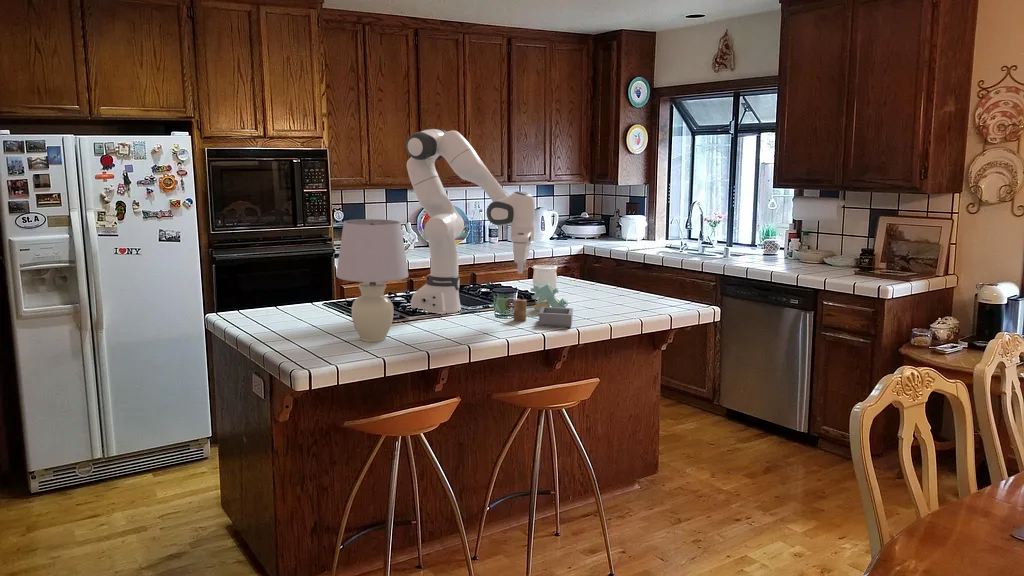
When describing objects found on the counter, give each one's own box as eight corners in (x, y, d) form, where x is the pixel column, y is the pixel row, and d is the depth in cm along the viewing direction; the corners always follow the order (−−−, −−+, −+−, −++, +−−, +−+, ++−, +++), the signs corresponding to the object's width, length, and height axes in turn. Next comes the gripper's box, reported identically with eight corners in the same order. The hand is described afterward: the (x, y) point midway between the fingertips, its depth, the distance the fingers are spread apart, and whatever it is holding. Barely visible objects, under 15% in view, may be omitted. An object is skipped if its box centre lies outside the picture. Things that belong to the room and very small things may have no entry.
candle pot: (538, 326, 292) (539, 313, 291) (541, 319, 303) (541, 306, 302) (570, 328, 290) (571, 314, 289) (572, 320, 302) (572, 308, 301)
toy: (571, 311, 315) (555, 279, 311) (541, 323, 318) (524, 292, 314) (571, 301, 324) (556, 270, 320) (542, 313, 328) (527, 283, 323)
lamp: (326, 335, 269) (324, 219, 262) (389, 327, 283) (388, 217, 275) (354, 351, 250) (353, 227, 243) (420, 342, 264) (421, 224, 256)
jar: (533, 297, 345) (534, 263, 343) (556, 298, 344) (558, 265, 341) (530, 302, 335) (532, 267, 332) (554, 303, 334) (556, 268, 331)
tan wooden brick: (513, 320, 299) (514, 300, 298) (514, 319, 302) (515, 299, 300) (525, 321, 299) (526, 301, 297) (526, 320, 301) (526, 299, 300)
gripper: (517, 231, 305) (516, 266, 307) (510, 238, 285) (510, 275, 287) (533, 232, 304) (532, 267, 307) (528, 238, 284) (527, 276, 287)
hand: (521, 271), depth 297 cm, fingers open, 8 cm apart
